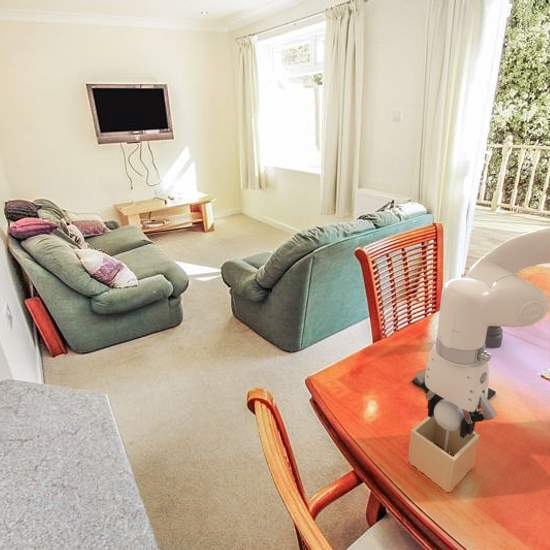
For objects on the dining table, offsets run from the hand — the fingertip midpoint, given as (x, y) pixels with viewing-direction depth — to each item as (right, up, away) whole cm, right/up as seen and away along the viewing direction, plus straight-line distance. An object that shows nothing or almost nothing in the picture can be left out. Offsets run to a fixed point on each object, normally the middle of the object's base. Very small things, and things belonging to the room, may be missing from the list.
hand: (449, 422), depth 73 cm
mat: (+12, -1, +25) cm, 28 cm away
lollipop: (+1, -9, +4) cm, 10 cm away
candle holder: (+32, +8, +42) cm, 53 cm away
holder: (0, -11, +5) cm, 12 cm away
